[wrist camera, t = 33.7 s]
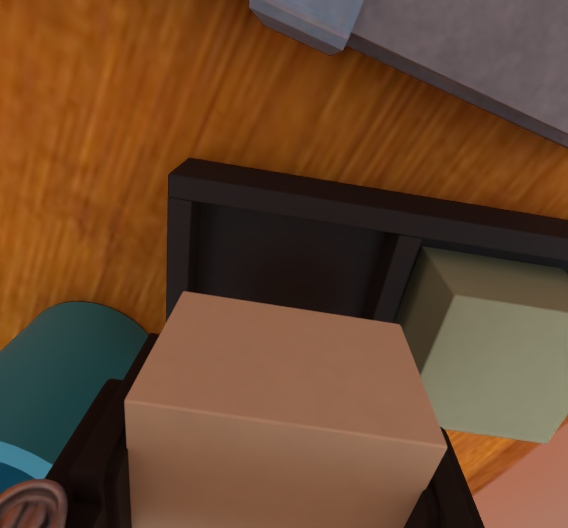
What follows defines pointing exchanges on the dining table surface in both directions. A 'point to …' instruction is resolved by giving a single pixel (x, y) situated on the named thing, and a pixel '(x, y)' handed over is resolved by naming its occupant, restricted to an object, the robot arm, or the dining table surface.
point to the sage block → (489, 342)
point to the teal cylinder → (57, 381)
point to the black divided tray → (326, 239)
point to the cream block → (277, 421)
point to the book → (451, 48)
